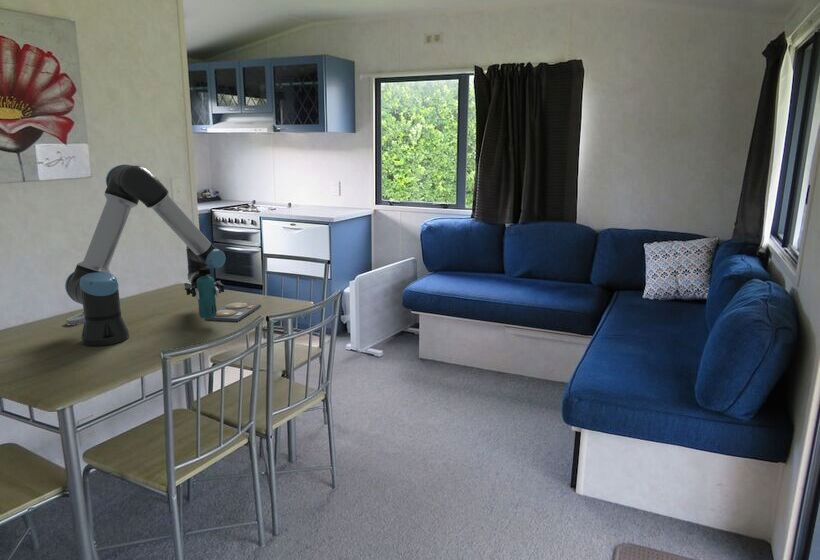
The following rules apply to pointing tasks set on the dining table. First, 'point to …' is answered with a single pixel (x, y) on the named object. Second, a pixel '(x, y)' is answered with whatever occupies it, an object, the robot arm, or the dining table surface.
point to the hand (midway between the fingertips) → (208, 294)
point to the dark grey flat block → (234, 311)
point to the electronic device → (76, 319)
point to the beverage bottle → (206, 294)
